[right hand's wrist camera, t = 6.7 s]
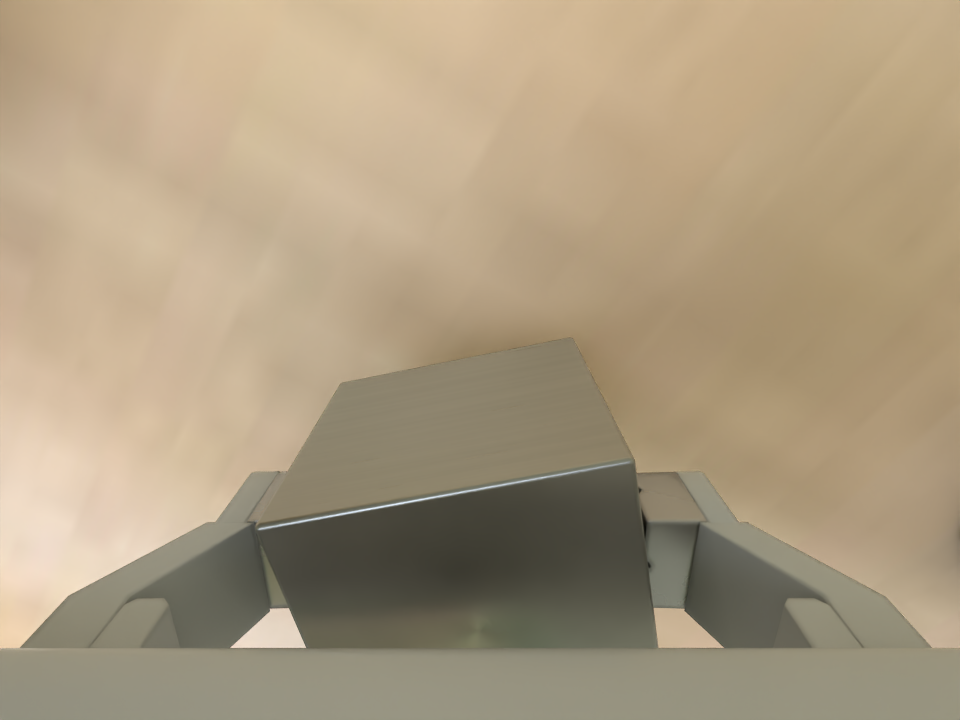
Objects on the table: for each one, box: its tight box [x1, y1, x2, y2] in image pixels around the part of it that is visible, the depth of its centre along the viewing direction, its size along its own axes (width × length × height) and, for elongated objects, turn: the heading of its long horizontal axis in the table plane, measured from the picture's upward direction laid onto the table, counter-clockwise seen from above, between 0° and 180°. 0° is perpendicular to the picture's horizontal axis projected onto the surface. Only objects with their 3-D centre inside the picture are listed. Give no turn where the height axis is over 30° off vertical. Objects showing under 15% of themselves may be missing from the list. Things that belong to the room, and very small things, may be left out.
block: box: [255, 338, 658, 648], centre depth 10 cm, size 5×5×5 cm
